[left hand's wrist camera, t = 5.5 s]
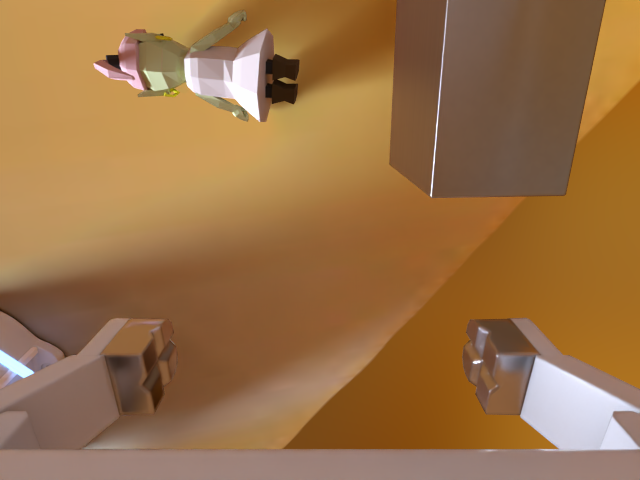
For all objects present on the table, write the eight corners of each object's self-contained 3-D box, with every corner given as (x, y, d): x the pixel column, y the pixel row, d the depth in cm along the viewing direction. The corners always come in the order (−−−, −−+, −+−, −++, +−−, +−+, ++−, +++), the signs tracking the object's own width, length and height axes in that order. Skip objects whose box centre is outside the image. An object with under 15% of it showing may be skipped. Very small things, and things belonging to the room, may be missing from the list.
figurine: (305, 12, 30) (120, -13, 30) (292, 33, 25) (64, 2, 25) (298, 117, 36) (142, 95, 36) (286, 153, 30) (100, 127, 30)
